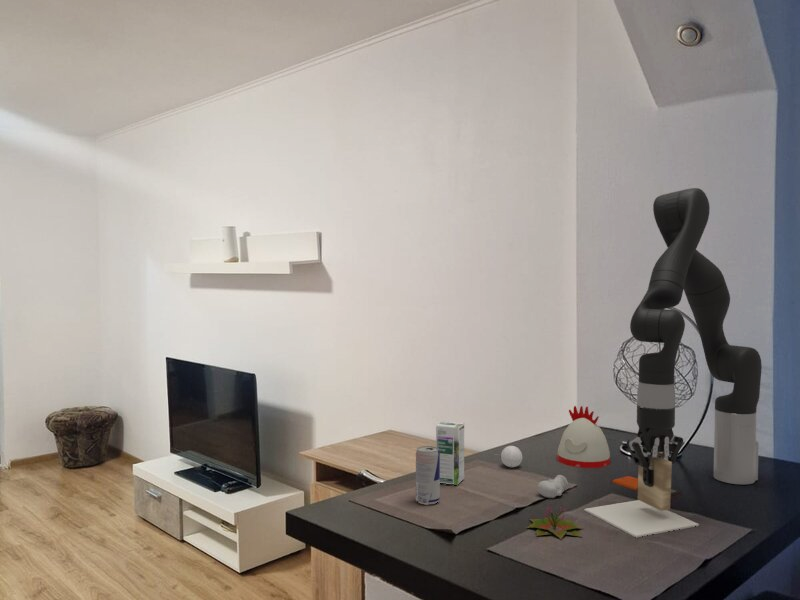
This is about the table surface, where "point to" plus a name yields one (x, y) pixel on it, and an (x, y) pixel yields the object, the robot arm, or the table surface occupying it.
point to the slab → (657, 485)
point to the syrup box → (451, 451)
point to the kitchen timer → (583, 442)
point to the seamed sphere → (511, 456)
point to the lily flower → (554, 525)
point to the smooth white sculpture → (553, 487)
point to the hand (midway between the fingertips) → (654, 484)
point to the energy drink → (428, 474)
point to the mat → (640, 518)
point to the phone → (633, 483)
